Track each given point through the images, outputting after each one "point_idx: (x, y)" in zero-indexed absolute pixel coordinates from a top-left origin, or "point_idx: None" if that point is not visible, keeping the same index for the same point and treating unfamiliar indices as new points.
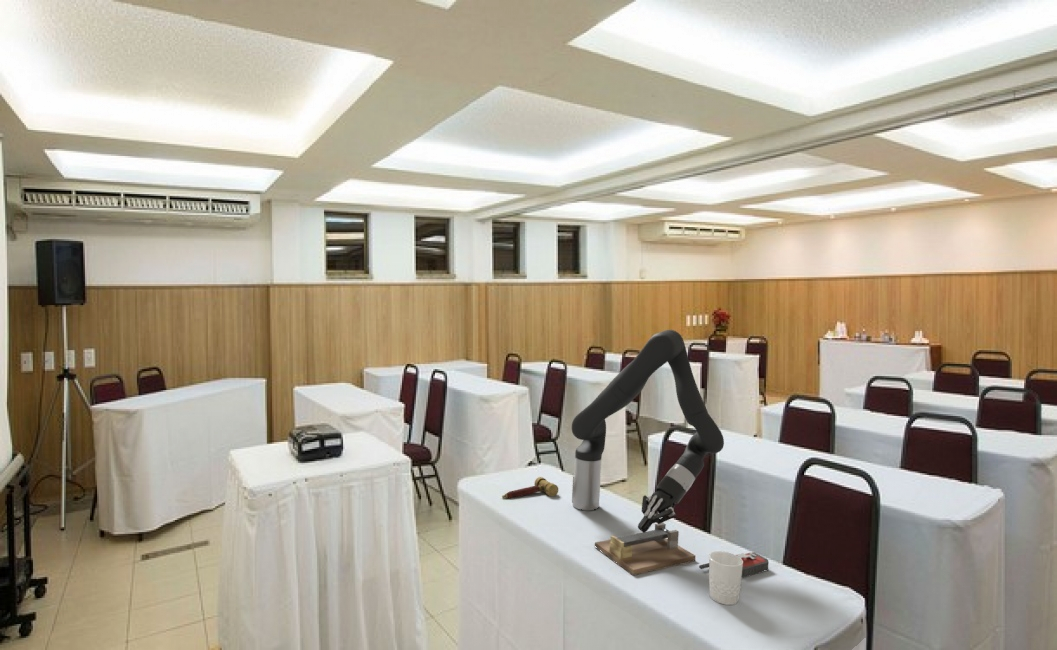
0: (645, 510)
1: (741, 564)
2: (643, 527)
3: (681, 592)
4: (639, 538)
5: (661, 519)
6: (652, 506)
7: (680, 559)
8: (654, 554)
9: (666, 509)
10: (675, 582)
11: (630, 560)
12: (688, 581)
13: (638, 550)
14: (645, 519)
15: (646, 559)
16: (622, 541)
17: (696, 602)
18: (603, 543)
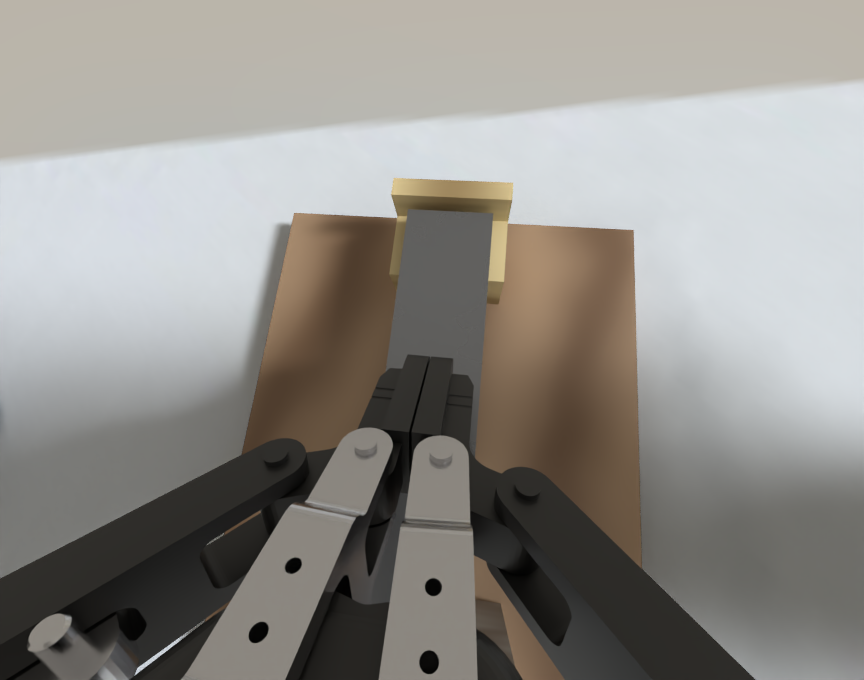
0: (502, 510)
1: None
2: (395, 373)
3: (93, 308)
4: (403, 346)
5: (254, 548)
6: (394, 589)
7: (225, 533)
8: (349, 431)
9: (43, 636)
10: (153, 349)
11: (369, 262)
12: (118, 413)
13: None
14: (407, 412)
15: (332, 343)
16: (427, 215)
17: (15, 303)
18: (602, 263)
